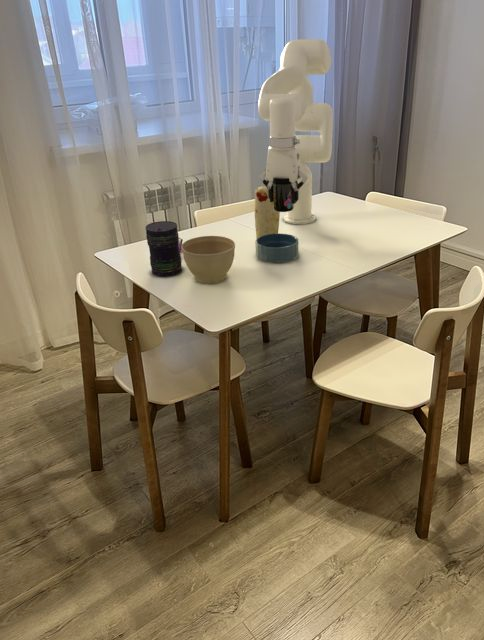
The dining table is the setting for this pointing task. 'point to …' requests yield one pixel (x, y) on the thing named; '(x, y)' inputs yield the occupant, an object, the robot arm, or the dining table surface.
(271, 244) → the basin
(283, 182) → the supplement container
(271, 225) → the food model
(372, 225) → the dining table surface
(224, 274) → the planter bowl
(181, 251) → the pink toy figurine
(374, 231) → the dining table surface
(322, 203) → the dining table surface
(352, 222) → the dining table surface
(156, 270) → the storage jar
